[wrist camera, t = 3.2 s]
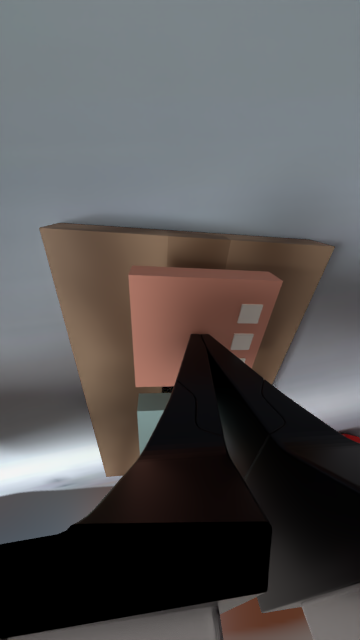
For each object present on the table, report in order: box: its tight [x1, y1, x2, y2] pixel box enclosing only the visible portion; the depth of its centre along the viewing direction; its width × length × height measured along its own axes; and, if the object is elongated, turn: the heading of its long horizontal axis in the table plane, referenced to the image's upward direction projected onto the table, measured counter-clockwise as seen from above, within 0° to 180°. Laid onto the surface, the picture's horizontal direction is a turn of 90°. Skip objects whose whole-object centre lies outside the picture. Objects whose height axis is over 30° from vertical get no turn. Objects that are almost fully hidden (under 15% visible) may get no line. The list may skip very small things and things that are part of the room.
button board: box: [39, 223, 335, 477], centre depth 16 cm, size 14×24×2 cm, turn 176°
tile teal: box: [137, 393, 171, 455], centre depth 14 cm, size 6×6×3 cm
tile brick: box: [128, 265, 283, 387], centre depth 10 cm, size 6×6×3 cm
